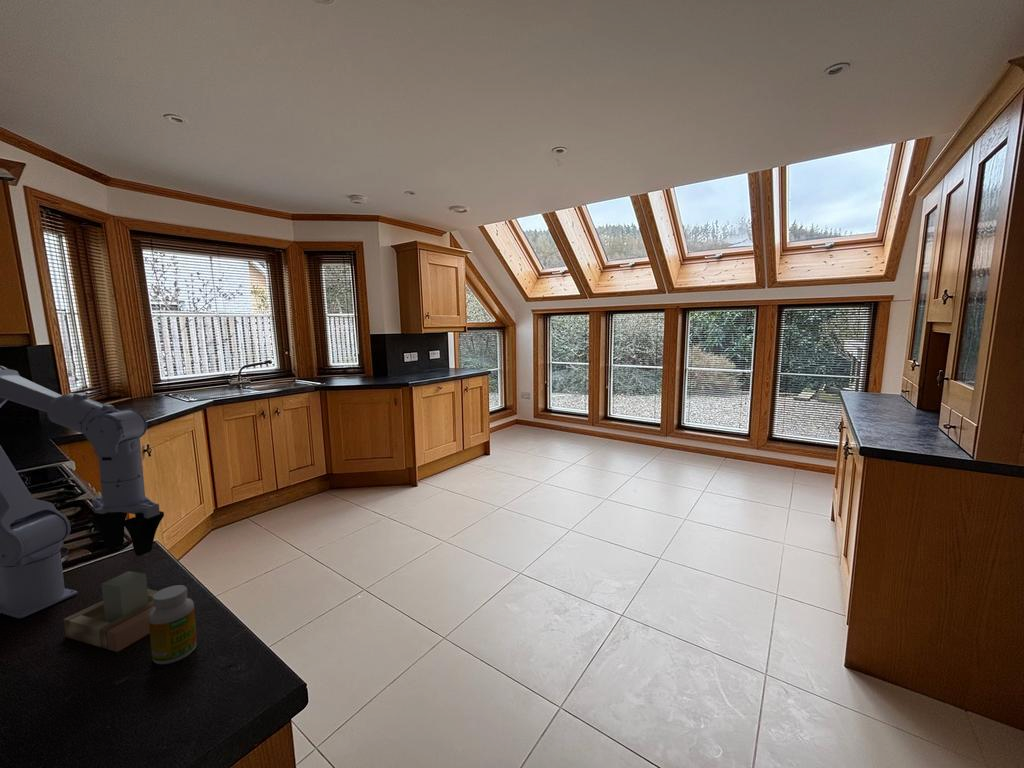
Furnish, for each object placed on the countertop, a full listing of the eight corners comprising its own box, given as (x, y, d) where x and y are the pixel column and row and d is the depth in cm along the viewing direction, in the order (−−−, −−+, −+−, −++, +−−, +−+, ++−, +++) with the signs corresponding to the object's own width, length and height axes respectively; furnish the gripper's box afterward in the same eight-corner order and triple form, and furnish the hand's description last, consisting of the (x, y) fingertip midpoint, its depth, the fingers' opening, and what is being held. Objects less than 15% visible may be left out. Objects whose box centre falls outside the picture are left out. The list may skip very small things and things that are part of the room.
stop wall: (108, 649, 66) (106, 631, 66) (176, 610, 76) (174, 594, 76) (117, 652, 66) (115, 633, 66) (184, 612, 75) (182, 596, 75)
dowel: (106, 629, 71) (101, 583, 70) (132, 614, 75) (128, 571, 74) (124, 633, 70) (119, 586, 69) (150, 618, 74) (146, 573, 73)
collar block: (65, 636, 70) (63, 619, 69) (135, 601, 79) (133, 585, 79) (107, 649, 67) (105, 630, 66) (174, 610, 76) (173, 594, 76)
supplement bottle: (173, 668, 62) (167, 604, 62) (142, 663, 64) (136, 600, 63) (206, 642, 68) (201, 583, 67) (177, 638, 69) (172, 580, 68)
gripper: (68, 481, 76) (76, 555, 77) (124, 488, 72) (131, 567, 73) (115, 469, 83) (121, 538, 84) (169, 476, 78) (175, 548, 80)
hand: (129, 550), depth 79 cm, fingers open, 7 cm apart
